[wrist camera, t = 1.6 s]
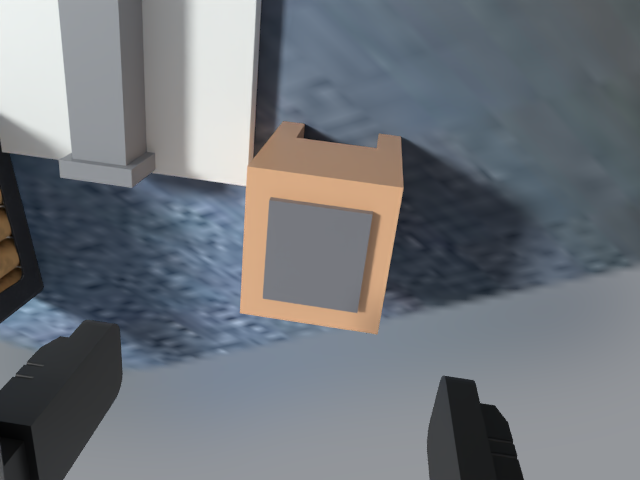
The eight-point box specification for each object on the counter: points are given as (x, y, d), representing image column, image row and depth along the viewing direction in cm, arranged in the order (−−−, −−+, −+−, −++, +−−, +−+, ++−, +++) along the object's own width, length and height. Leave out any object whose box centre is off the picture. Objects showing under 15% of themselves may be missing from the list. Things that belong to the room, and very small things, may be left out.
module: (401, 136, 25) (403, 190, 19) (381, 254, 28) (377, 338, 21) (283, 121, 25) (245, 169, 19) (274, 238, 28) (238, 317, 21)
